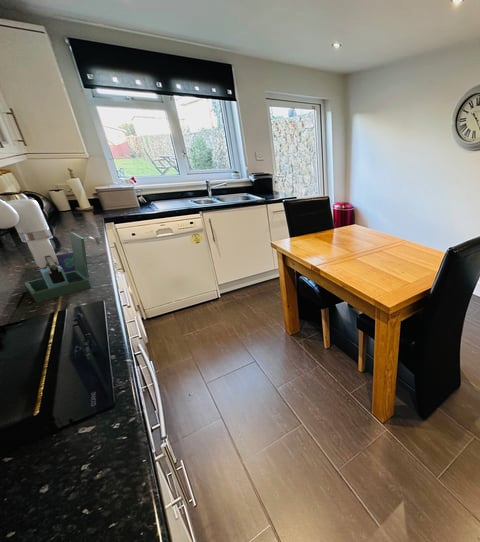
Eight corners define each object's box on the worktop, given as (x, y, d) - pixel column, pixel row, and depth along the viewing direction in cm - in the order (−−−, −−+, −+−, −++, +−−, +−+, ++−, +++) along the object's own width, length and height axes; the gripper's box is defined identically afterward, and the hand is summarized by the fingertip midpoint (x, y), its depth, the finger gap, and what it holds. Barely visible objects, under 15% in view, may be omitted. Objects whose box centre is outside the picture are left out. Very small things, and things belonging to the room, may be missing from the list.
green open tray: (37, 304, 99) (32, 293, 97) (29, 292, 106) (23, 282, 105) (92, 289, 110) (88, 279, 108) (80, 279, 118) (76, 270, 116)
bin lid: (80, 238, 104) (99, 238, 108) (69, 231, 111) (87, 231, 115) (86, 278, 108) (104, 276, 112) (75, 269, 115) (92, 267, 120)
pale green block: (52, 293, 105) (42, 272, 101) (49, 290, 107) (39, 269, 104) (71, 288, 109) (62, 268, 105) (67, 285, 111) (59, 265, 107)
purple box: (87, 267, 129) (79, 245, 125) (90, 268, 128) (81, 246, 124) (60, 273, 122) (50, 250, 118) (62, 275, 121) (52, 252, 117)
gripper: (15, 233, 101) (36, 276, 108) (25, 242, 92) (47, 288, 99) (45, 228, 107) (63, 270, 113) (57, 237, 98) (76, 281, 104)
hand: (56, 278), depth 106 cm, fingers open, 9 cm apart
